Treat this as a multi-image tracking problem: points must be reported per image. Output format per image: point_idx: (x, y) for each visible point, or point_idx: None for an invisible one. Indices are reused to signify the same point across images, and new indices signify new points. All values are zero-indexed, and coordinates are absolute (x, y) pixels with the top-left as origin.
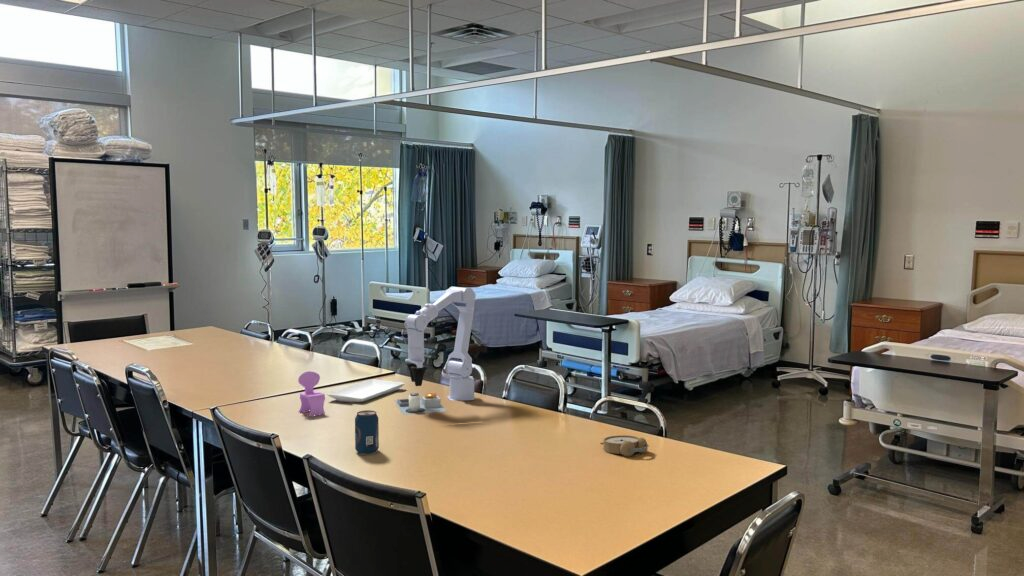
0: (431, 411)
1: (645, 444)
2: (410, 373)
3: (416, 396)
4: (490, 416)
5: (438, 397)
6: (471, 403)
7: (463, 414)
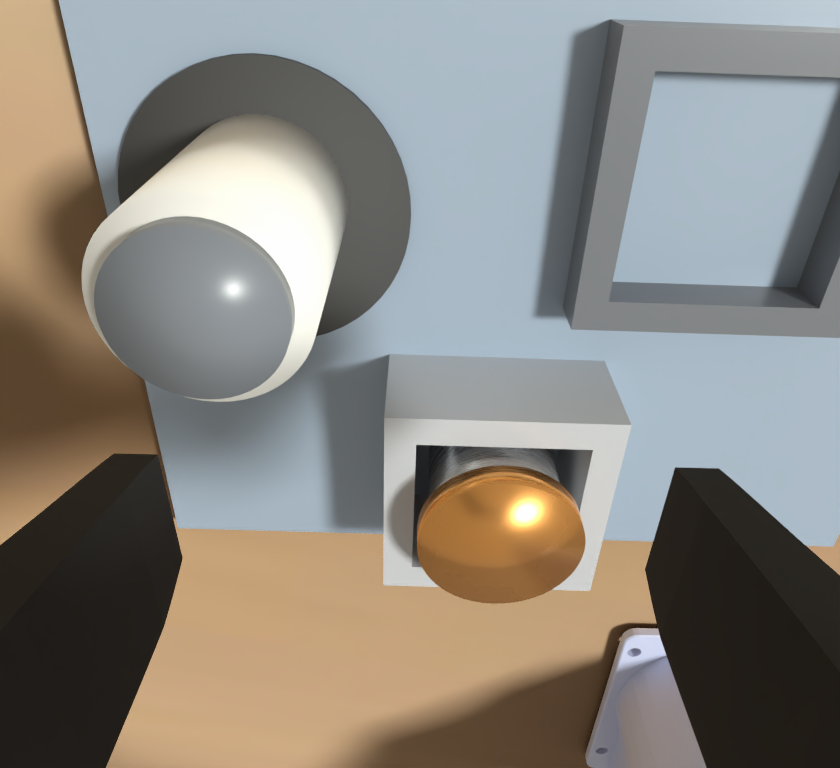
0: None
1: None
2: (812, 645)
3: (94, 323)
4: None
5: None
6: (493, 721)
7: None
